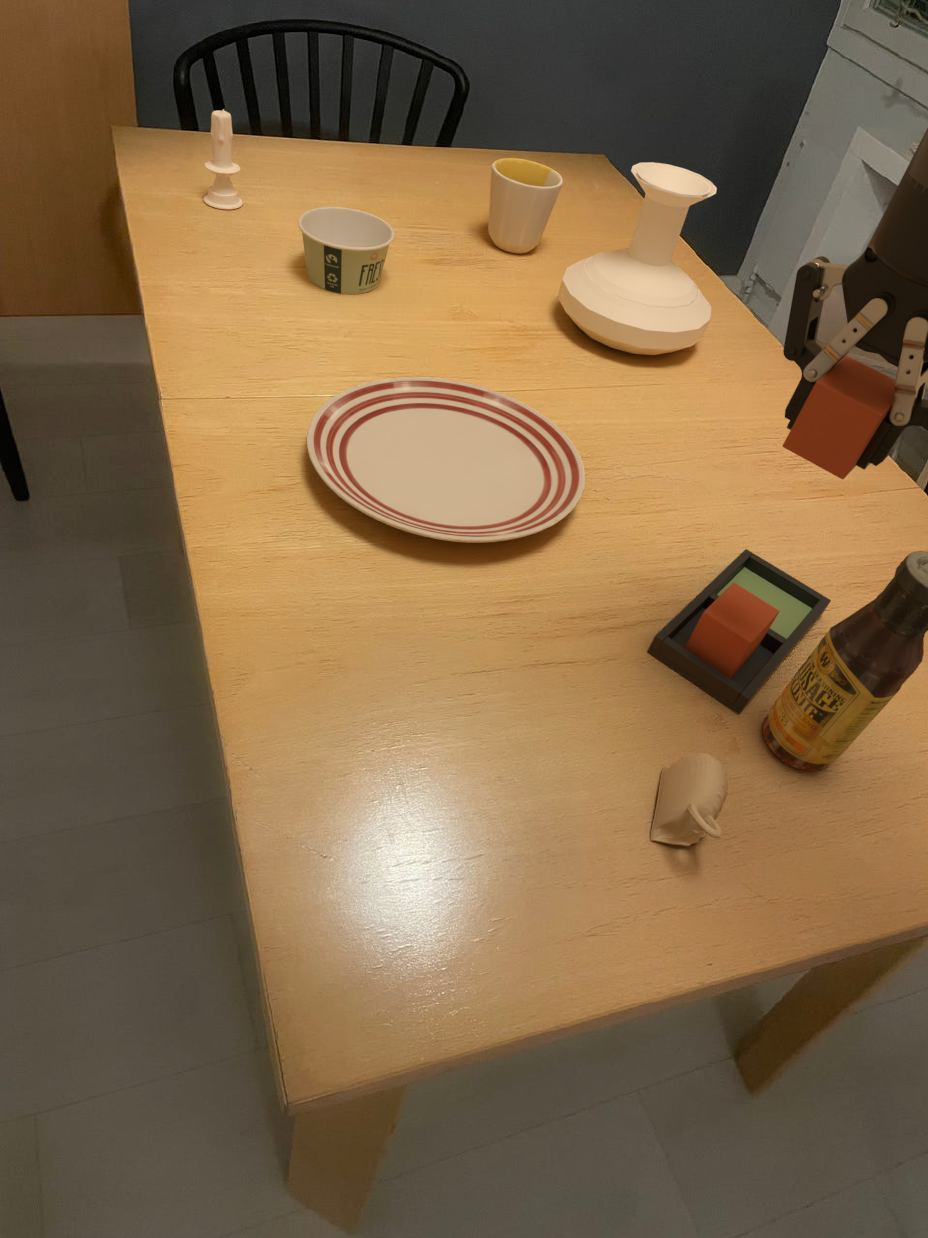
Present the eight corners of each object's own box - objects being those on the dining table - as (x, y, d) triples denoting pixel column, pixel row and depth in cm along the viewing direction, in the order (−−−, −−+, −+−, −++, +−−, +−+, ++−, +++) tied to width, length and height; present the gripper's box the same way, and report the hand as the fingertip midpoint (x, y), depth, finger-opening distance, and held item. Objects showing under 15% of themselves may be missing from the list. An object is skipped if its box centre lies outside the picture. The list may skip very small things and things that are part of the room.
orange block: (871, 449, 60) (910, 386, 57) (842, 480, 57) (882, 414, 53) (812, 418, 62) (847, 355, 58) (781, 446, 59) (816, 381, 55)
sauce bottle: (747, 712, 72) (867, 528, 58) (816, 713, 73) (949, 534, 59) (775, 780, 68) (912, 599, 54) (848, 780, 69) (1000, 603, 55)
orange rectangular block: (755, 650, 77) (780, 610, 73) (727, 682, 73) (751, 642, 70) (712, 622, 78) (733, 581, 75) (682, 652, 75) (703, 611, 71)
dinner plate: (310, 385, 95) (311, 357, 92) (554, 410, 100) (561, 384, 97) (299, 556, 76) (301, 527, 73) (601, 577, 81) (611, 550, 78)
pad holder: (821, 615, 82) (831, 600, 81) (738, 715, 72) (749, 699, 70) (737, 564, 86) (746, 548, 84) (647, 652, 75) (654, 635, 73)
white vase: (709, 381, 111) (773, 228, 97) (555, 354, 109) (598, 194, 95) (686, 308, 125) (739, 166, 111) (549, 283, 123) (586, 135, 109)
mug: (550, 265, 127) (568, 190, 120) (481, 255, 125) (495, 179, 118) (539, 226, 137) (555, 155, 129) (474, 216, 135) (487, 144, 128)
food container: (317, 247, 118) (320, 197, 113) (401, 272, 117) (407, 223, 113) (280, 281, 110) (282, 229, 105) (370, 308, 109) (376, 257, 104)
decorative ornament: (714, 785, 66) (742, 743, 62) (700, 878, 60) (730, 839, 57) (663, 765, 67) (688, 723, 63) (644, 856, 61) (670, 815, 57)
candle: (249, 200, 125) (248, 108, 116) (233, 213, 121) (232, 118, 113) (213, 190, 125) (210, 97, 117) (196, 203, 121) (192, 107, 113)
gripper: (833, 145, 47) (713, 414, 59) (1100, 253, 42) (910, 521, 55) (879, 127, 52) (759, 379, 64) (1124, 222, 47) (945, 476, 59)
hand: (830, 443), depth 59 cm, fingers closed on orange block, 4 cm apart
